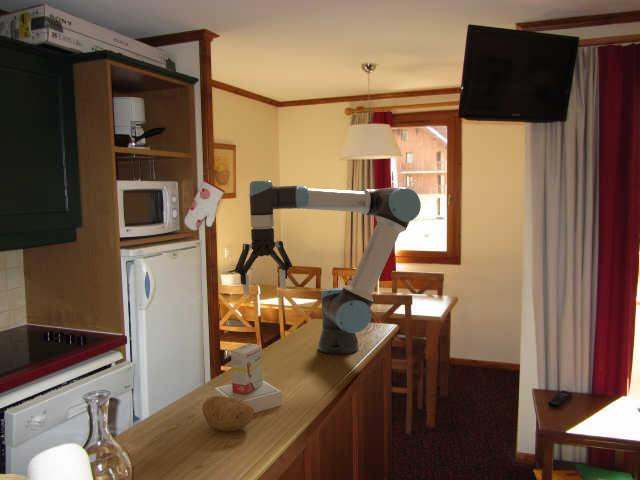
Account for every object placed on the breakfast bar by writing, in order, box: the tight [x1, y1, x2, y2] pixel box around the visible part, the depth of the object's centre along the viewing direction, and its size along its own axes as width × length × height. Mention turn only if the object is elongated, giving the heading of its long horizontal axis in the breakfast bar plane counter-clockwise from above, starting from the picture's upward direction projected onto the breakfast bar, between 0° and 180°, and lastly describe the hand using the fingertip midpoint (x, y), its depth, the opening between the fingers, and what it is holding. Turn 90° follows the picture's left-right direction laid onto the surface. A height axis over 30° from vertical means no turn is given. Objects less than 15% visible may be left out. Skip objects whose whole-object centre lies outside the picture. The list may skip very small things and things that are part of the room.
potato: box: [201, 396, 255, 433], centre depth 134 cm, size 10×14×8 cm
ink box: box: [230, 343, 264, 395], centre depth 149 cm, size 9×5×12 cm, turn 151°
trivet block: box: [214, 380, 283, 414], centre depth 150 cm, size 14×14×4 cm
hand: (265, 291), depth 176 cm, fingers open, 13 cm apart
